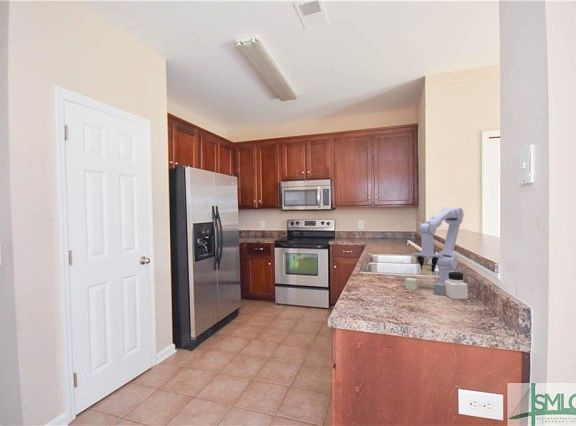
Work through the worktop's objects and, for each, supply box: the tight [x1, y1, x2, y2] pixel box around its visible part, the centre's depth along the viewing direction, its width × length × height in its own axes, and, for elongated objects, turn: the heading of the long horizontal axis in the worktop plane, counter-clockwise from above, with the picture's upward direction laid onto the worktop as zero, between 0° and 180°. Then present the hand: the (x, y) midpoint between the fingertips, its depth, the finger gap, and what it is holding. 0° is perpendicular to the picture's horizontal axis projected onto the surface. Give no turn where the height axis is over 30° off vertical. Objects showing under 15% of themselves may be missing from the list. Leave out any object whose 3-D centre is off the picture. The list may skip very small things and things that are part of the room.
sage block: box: [405, 277, 419, 291], centre depth 151 cm, size 5×5×5 cm
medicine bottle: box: [445, 270, 469, 300], centre depth 134 cm, size 7×7×12 cm
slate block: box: [433, 282, 446, 296], centre depth 140 cm, size 4×4×5 cm
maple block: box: [421, 263, 434, 276], centre depth 150 cm, size 4×4×5 cm
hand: (427, 271), depth 150 cm, fingers closed on maple block, 4 cm apart
